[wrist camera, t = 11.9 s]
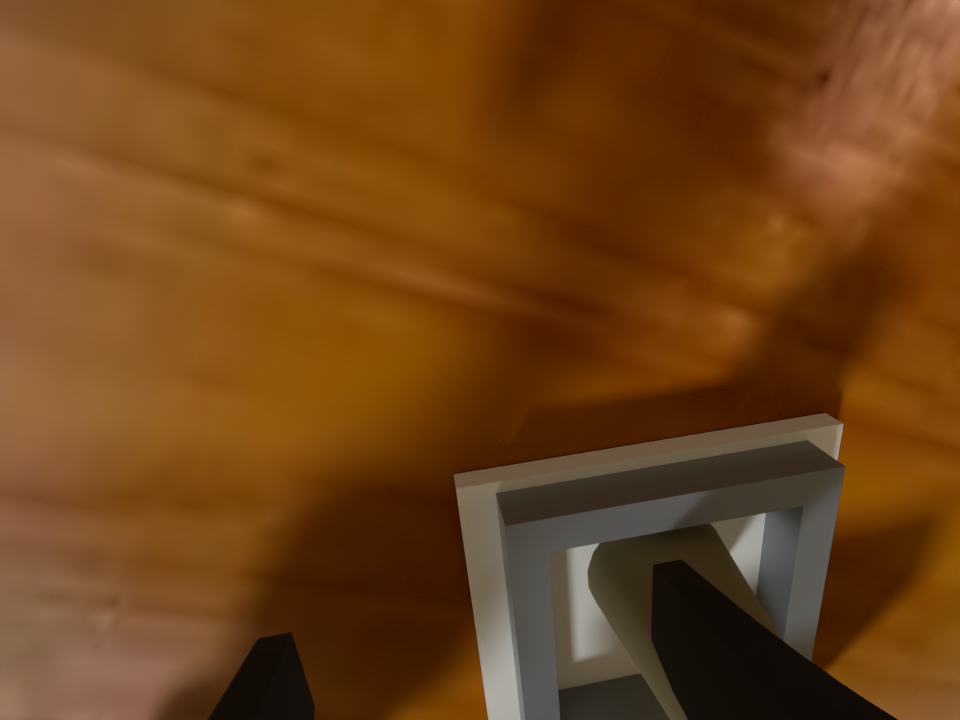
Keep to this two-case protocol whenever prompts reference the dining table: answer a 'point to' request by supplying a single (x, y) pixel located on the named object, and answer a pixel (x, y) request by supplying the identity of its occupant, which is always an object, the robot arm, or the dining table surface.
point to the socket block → (629, 513)
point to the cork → (628, 591)
